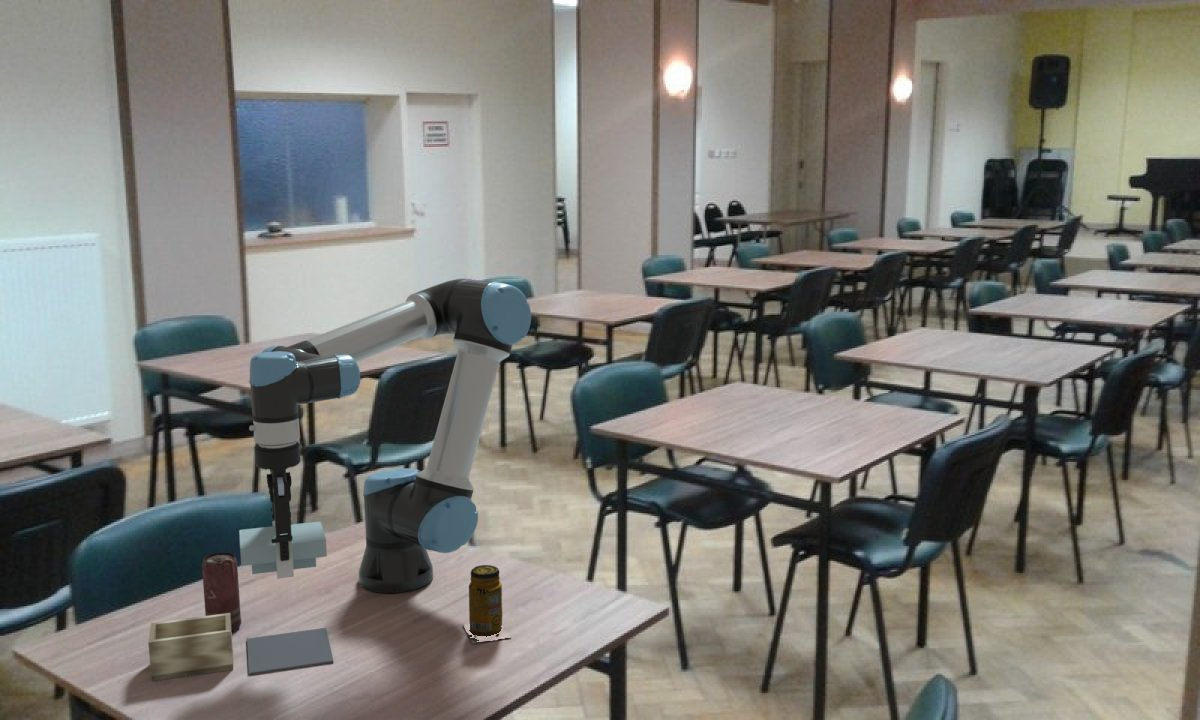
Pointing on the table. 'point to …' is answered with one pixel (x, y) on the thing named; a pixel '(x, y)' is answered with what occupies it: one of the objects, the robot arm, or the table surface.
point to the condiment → (485, 602)
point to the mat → (288, 651)
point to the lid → (263, 551)
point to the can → (222, 587)
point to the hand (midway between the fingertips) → (283, 565)
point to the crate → (190, 646)
